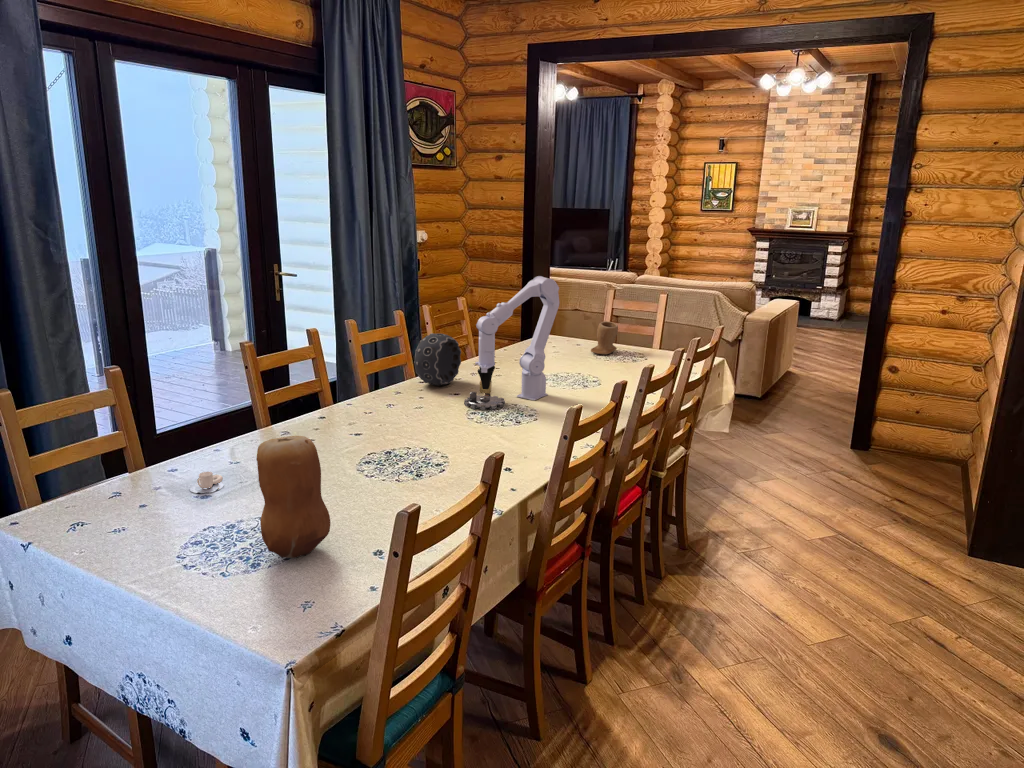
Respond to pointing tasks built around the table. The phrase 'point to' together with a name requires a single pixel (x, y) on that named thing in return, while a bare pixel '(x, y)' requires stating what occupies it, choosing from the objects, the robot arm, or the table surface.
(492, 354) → the robot arm
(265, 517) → the butternut squash
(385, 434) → the table surface
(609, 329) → the stone cup
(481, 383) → the link block
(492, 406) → the sprocket
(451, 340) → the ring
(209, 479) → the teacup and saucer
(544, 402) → the table surface
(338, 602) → the table surface
